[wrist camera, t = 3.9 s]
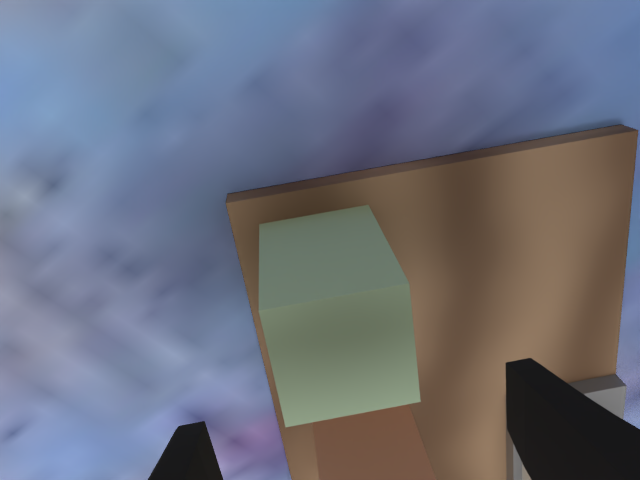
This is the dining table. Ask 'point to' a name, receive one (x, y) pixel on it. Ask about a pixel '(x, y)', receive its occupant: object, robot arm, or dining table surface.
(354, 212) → the sage block
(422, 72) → the dining table surface
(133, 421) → the dining table surface
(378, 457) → the terracotta block
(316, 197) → the service board
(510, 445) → the mounted unit
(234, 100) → the dining table surface
